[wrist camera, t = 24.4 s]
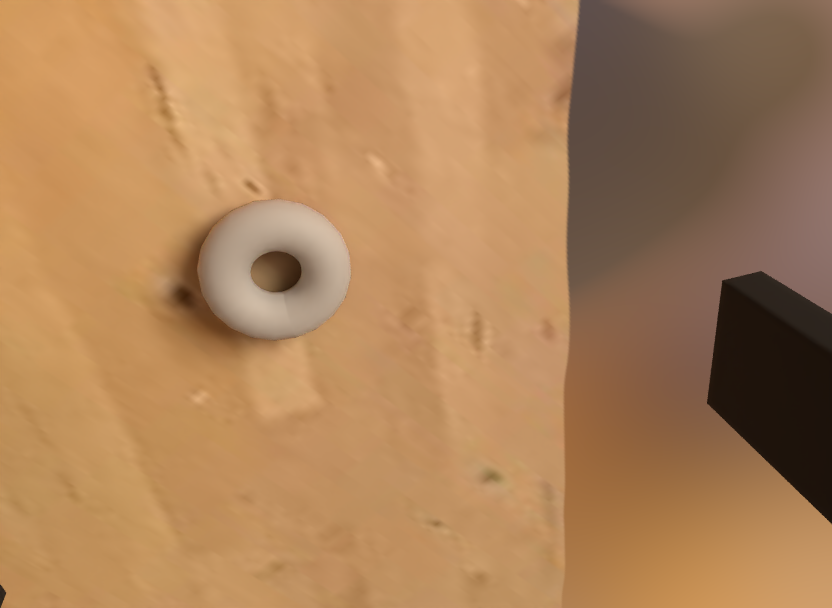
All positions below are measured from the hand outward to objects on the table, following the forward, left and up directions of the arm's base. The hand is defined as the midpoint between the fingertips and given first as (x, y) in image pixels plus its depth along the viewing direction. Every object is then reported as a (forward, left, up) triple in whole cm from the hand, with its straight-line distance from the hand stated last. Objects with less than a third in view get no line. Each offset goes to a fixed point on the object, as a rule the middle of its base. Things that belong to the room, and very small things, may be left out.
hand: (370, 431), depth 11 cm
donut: (-3, -11, -33) cm, 35 cm away
